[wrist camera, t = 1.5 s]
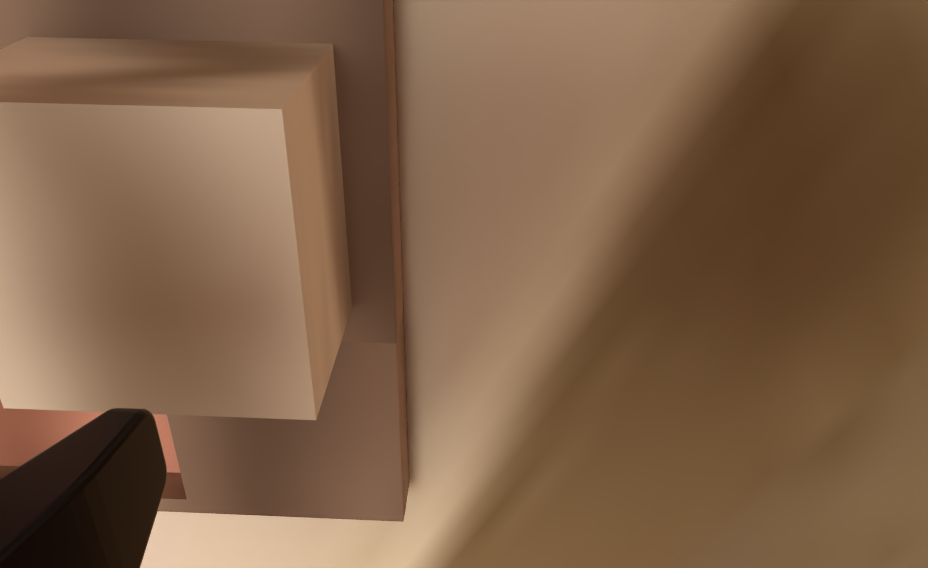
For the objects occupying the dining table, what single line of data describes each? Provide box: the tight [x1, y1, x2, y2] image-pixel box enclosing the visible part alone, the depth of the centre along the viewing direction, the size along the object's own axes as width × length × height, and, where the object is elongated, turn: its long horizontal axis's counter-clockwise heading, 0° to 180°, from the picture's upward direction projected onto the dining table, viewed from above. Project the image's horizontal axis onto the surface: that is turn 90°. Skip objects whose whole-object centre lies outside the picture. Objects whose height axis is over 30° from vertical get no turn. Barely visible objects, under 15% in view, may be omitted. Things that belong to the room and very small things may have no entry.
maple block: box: [0, 37, 352, 420], centre depth 15 cm, size 6×6×4 cm
